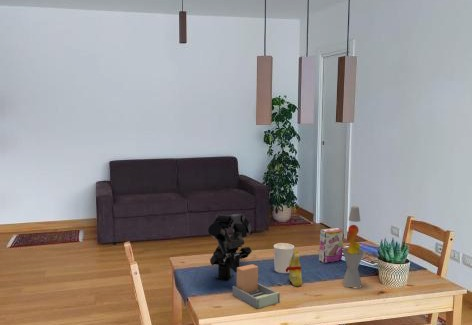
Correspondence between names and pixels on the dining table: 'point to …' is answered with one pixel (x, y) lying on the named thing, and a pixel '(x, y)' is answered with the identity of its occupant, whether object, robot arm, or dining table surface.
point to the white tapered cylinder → (282, 256)
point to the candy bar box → (330, 245)
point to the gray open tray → (258, 296)
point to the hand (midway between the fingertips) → (238, 273)
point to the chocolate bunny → (295, 269)
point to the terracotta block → (247, 278)
